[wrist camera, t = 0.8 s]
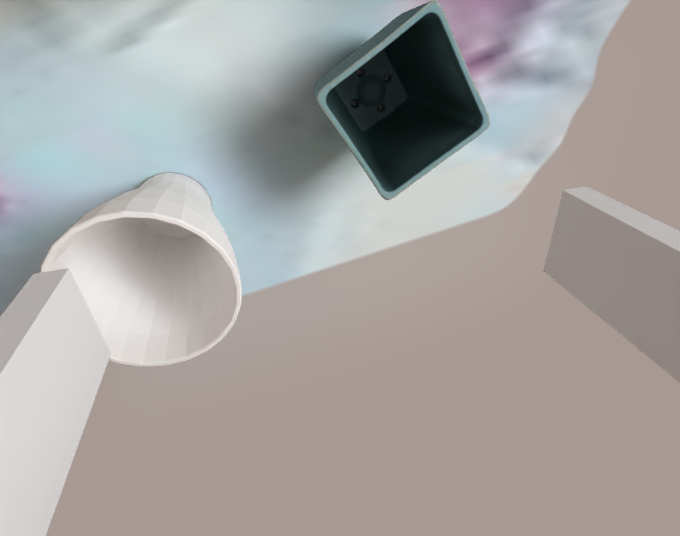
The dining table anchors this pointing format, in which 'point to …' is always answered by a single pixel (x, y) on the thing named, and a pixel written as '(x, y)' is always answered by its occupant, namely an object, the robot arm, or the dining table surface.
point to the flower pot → (404, 99)
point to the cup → (154, 271)
